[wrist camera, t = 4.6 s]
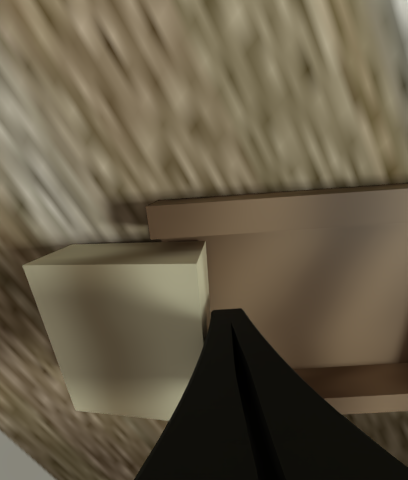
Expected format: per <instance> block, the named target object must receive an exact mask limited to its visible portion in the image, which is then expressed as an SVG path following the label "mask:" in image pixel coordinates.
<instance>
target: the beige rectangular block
mask: <svg viewBox="0 0 408 480" xmlns="http://www.w3.org/2000/svg"><path fill="white" fill-rule="evenodd" d="M22 266H23V269H24V271H25V274H26V277H27V280H28V282H29V285H30V288H31V291H32V293H33V296H34V299H35V301H36V304H37V307H38V310H39V312H40V315H41V318H42V321H43V323H44V326H45V329H46V331H47V334H48V337H49V340H50V342H51V345H52V348H53V351H54V353H55V356H56V359H57V361H58V364H59V367H60V370H61V372H62V375H63V378H64V381H65V383H66V386H67V389H68V391H69V394H70V397H71V400H72V402H73V405H74V408H75V411H84V412H93V413H103V414H112V415H121V416H130V417H140V418H149V419H158V420H167V421H169V420H170V418H171V416H172V415H173V413H174V411H175V409H176V407H177V405H178V403H179V401H180V399H181V397H182V395H183V393H184V391H185V389H186V387H187V385H188V383H189V381H190V378H191V376H192V374H193V371H194V369H195V367H196V364H197V361H198V359H199V356H200V354H201V351H202V348H203V345H204V342H205V339H206V336H207V333H208V329H209V324H210V319H211V313H210V298H209V284H208V269H207V254H206V241H186V242H147V243H108V244H72V245H69V246H67V247H65V248H62V249H60V250H57V251H55V252H53V253H50V254H48V255H46V256H43V257H41V258H38V259H36V260H34V261H31V262H29V263H27V264H24V265H22Z"/></svg>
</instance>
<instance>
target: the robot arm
mask: <svg viewBox="0 0 408 480" xmlns="http://www.w3.org/2000/svg"><path fill="white" fill-rule="evenodd" d="M134 480H408V467H406V466H405V465H404V464H402V463H401V462H400V461H399V460H397V459H396V458H395V457H393V456H392V455H391V454H389V453H388V452H387V451H386V450H384V449H383V448H382V447H381V446H380V445H378V444H377V443H376V442H375V441H373V440H372V439H371V438H370V437H369V436H367V435H366V434H365V433H364V432H362V431H361V430H360V429H359V428H357V427H356V426H355V425H354V424H353V423H351V422H350V421H349V420H348V419H346V418H345V417H344V416H343V415H342V414H340V413H339V412H338V411H337V410H336V409H335V408H334V407H333V406H331V405H330V404H329V403H328V402H327V401H326V400H325V399H323V398H322V397H321V396H320V395H319V394H318V393H317V392H316V391H315V390H314V389H313V388H312V387H310V386H309V385H308V384H307V383H306V382H305V381H304V380H303V379H302V378H301V377H300V376H299V375H298V374H297V373H296V372H295V371H294V370H293V369H292V368H291V367H290V366H289V365H288V364H287V363H286V362H285V360H284V359H283V358H282V357H281V356H280V355H279V354H278V353H277V352H276V351H275V350H274V348H273V347H272V346H271V345H270V344H269V343H268V341H267V340H266V339H265V338H264V337H263V336H262V334H261V333H260V332H259V331H258V329H257V328H256V327H255V325H254V324H253V323H252V321H251V320H250V319H249V317H248V316H247V315H246V313H245V312H244V310H243V309H242V308H237V309H220V310H213V311H212V312H211V319H210V324H209V329H208V333H207V336H206V339H205V342H204V345H203V348H202V351H201V354H200V356H199V359H198V361H197V364H196V367H195V369H194V371H193V374H192V376H191V378H190V381H189V383H188V385H187V387H186V389H185V391H184V393H183V395H182V397H181V399H180V401H179V403H178V405H177V407H176V409H175V411H174V413H173V415H172V416H171V418H170V420H169V422H168V424H167V426H166V428H165V429H164V431H163V433H162V435H161V436H160V438H159V440H158V441H157V443H156V445H155V447H154V448H153V450H152V451H151V453H150V455H149V456H148V458H147V459H146V461H145V463H144V464H143V466H142V468H141V469H140V471H139V472H138V474H137V476H136V477H135V479H134Z"/></svg>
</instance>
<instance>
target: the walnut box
mask: <svg viewBox="0 0 408 480" xmlns="http://www.w3.org/2000/svg"><path fill="white" fill-rule="evenodd" d="M146 213H147V220H148V226H149V233H150V239H151V240H153V239H161V242H186V241H206V254H207V269H208V284H209V298H210V313H211V312H212V311H213V310H220V309H237V308H242V309H243V310H244V312H245V313H246V315H247V316H248V317H249V319H250V320H251V321H252V323H253V324H254V325H255V327H256V328H257V329H258V331H259V332H260V333H261V334H262V336H263V337H264V338H265V339H266V340H267V341H268V343H269V344H270V345H271V346H272V347H273V348H274V350H275V351H276V352H277V353H278V354H279V355H280V356H281V357H282V358H283V359H284V360H285V362H286V363H287V364H288V365H289V366H290V367H291V368H292V369H293V370H294V371H295V372H296V373H297V374H298V375H299V376H300V377H301V378H302V379H303V380H304V381H305V382H306V383H307V384H308V385H309V386H310V387H312V388H313V389H314V390H315V391H316V392H317V393H318V394H319V395H320V396H321V397H322V398H323V399H325V400H326V401H327V402H328V403H329V404H330V405H331V406H333V407H334V408H335V409H336V410H337V411H338V412H339V413H340V414H342V415H343V414H361V413H379V412H397V411H408V183H402V184H388V185H373V186H359V187H344V188H330V189H315V190H301V191H286V192H272V193H258V194H243V195H229V196H214V197H200V198H185V199H171V200H158V201H156V202H154V203H152V204H150V205H148V206H146Z"/></svg>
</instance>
